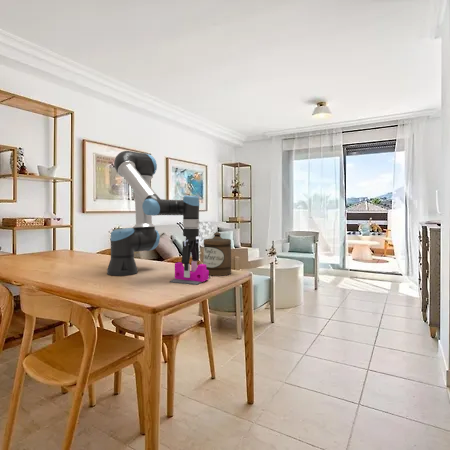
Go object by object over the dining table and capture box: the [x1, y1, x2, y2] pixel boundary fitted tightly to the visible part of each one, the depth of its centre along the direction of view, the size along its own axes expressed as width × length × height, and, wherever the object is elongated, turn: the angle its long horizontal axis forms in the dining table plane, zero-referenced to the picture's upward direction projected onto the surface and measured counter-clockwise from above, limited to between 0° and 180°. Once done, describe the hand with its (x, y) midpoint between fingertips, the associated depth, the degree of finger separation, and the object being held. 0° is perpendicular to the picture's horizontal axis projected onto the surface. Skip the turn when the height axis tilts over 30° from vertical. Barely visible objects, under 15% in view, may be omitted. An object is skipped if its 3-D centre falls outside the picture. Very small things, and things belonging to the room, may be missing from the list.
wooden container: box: [202, 231, 232, 277], centre depth 174 cm, size 15×15×22 cm
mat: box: [169, 276, 211, 286], centre depth 156 cm, size 14×16×1 cm
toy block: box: [174, 261, 210, 283], centre depth 156 cm, size 15×6×8 cm, turn 67°
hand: (190, 275), depth 156 cm, fingers open, 7 cm apart
